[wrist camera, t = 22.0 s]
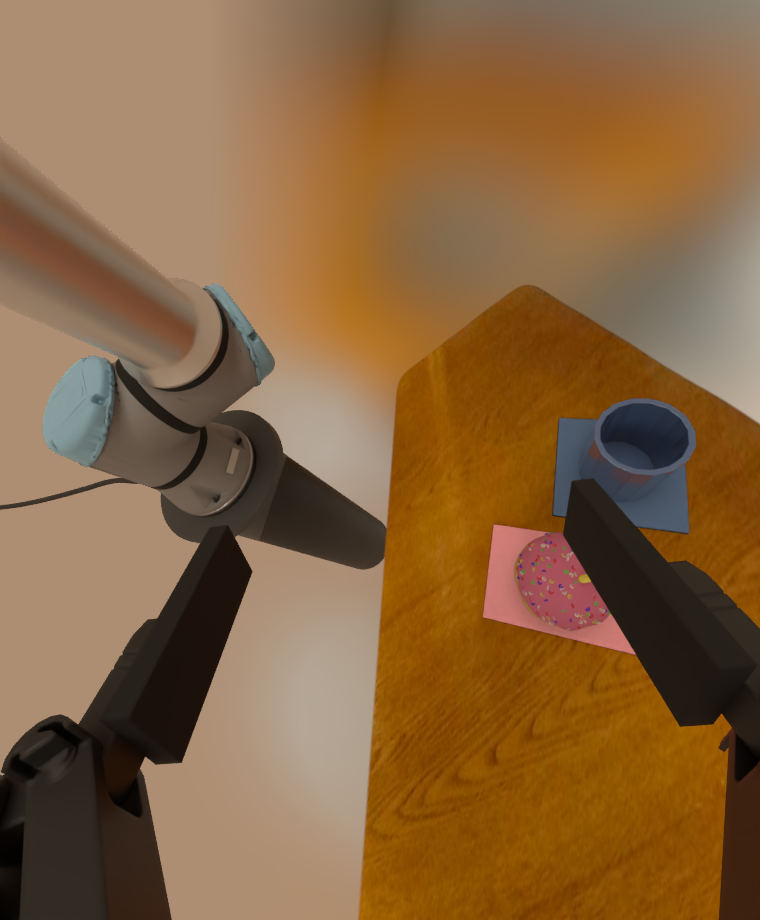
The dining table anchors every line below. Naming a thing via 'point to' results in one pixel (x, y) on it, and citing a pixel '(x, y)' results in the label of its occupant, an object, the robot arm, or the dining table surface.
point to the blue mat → (652, 511)
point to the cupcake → (557, 585)
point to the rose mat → (508, 602)
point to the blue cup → (636, 448)
